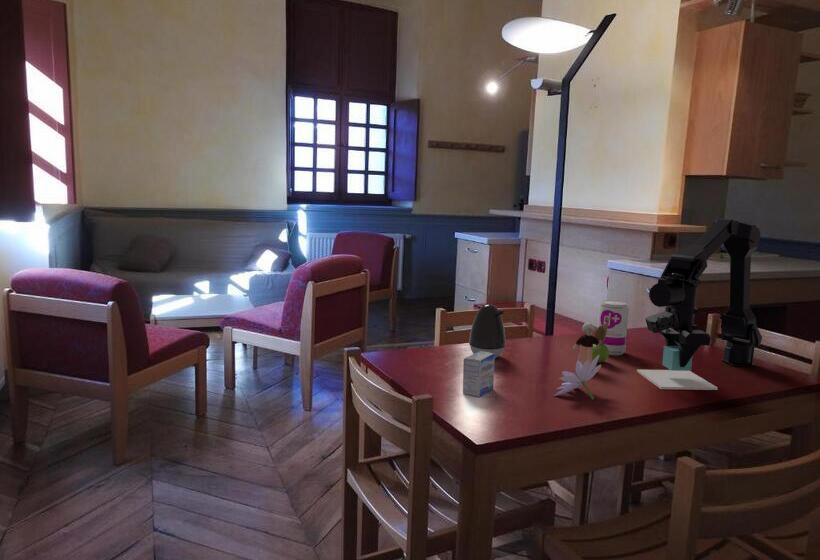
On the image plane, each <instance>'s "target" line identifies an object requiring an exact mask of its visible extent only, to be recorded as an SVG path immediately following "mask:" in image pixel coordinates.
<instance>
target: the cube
mask: <svg viewBox="0 0 820 560" xmlns="http://www.w3.org/2000/svg"><path fill="white" fill-rule="evenodd" d="M693 356H694V355H693ZM693 356H692V357H691V359H690V360H689V362H688V363H687V365H686V366H685V367H680V361H679V346H667V345H663V352H662V363H661V364H662V366H664V367H666V368H667V370H671V371H691V372H692V366H693V364H692V363H693Z"/></svg>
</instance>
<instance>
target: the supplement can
mask: <svg viewBox="0 0 820 560" xmlns="http://www.w3.org/2000/svg"><path fill="white" fill-rule="evenodd" d="M629 311H630V308H629V307H628V303H627V302H626V301H625V302H624V301H619V300H609V299H608V300H603V301H601V303H600V305H599V306H598V314H597V315H598V316H597V327H598V326H603V324H604V323H605V318H608V319H609V320H607V319H606V322H608V327H607V334H606V337H605V340H604V341H603V343H602V344H604V345H606V346H607V348H608V350H609V356H615V357H616V356H622V355H623V354H625V352H626V346H627V345H626V344H627V337H628V335H627V334H628V333H627V332H628V323H629Z"/></svg>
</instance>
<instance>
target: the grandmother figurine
mask: <svg viewBox="0 0 820 560" xmlns="http://www.w3.org/2000/svg"><path fill="white" fill-rule="evenodd" d="M581 328H582V329H581V330H582V331H583V333H584V334H583V335H580V337H579V338H578V339H577V340H576V342H575V344H574V345H573V347H572V350H573V351H577V349H578V347H579V346H580V349H579V354H578V357H577V361H580V362H581V364H582V365H583V364H584V363H585V362H586V361H587V360H589V362H590V365H591V363H592V362H593V360H592V353H593V344H595V345H596V346H597V349H600V348H601V346H600V344H599V341H598V339H597V338H596V337H594V333H595V330H596V326H595V325H594V324H593V322H592V323H591V322H590V321H588V322H585V323H584V324H583V326H582V327H581Z"/></svg>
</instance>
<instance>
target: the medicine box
mask: <svg viewBox="0 0 820 560" xmlns="http://www.w3.org/2000/svg"><path fill="white" fill-rule="evenodd" d="M495 359H496V358H495V354H493V353H489V352H483V351H478V352H476V353H474V354H473V353H472V354H470V355H468V356H465V358H464V357H463V363H462V364H463V366H462V367H463V368H462V370H463V371H462V394H463V395H467V394H468V396H471V395H472V396H473V397H476V398H480V397H482V396H483V395H485V394H486V393H488V392H490V391H491V390H493V388H494V380H495Z"/></svg>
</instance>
